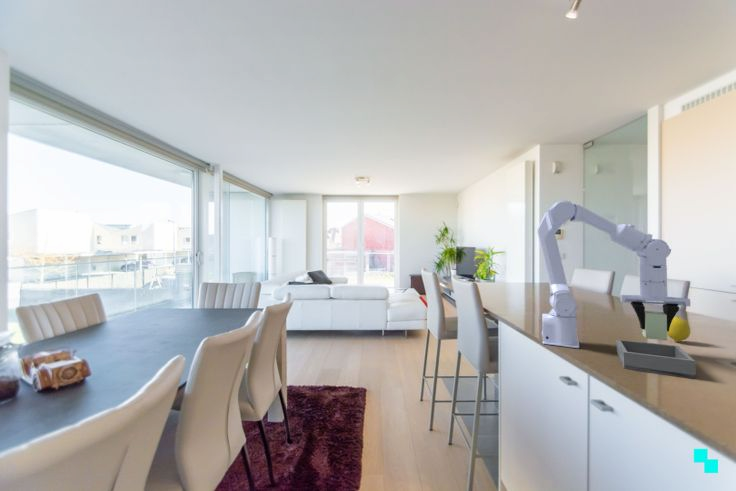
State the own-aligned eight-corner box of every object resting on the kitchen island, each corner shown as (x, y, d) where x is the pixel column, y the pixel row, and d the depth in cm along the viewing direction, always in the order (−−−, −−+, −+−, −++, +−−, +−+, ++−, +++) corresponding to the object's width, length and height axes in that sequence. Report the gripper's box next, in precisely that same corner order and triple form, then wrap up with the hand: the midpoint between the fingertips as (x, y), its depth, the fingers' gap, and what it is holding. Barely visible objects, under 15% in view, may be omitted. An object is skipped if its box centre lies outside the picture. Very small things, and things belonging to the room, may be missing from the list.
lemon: (695, 345, 94) (694, 318, 94) (673, 344, 95) (673, 318, 95) (681, 340, 100) (680, 314, 100) (660, 339, 101) (660, 314, 101)
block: (646, 338, 88) (645, 313, 88) (642, 334, 92) (642, 310, 92) (667, 340, 86) (666, 314, 86) (662, 336, 90) (662, 312, 90)
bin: (624, 368, 78) (623, 352, 78) (616, 353, 88) (616, 339, 88) (695, 378, 71) (695, 361, 71) (678, 361, 82) (678, 345, 82)
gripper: (622, 281, 90) (623, 329, 90) (693, 284, 82) (695, 336, 82) (619, 279, 96) (620, 324, 96) (685, 281, 88) (686, 330, 88)
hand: (654, 329), depth 89 cm, fingers closed on block, 4 cm apart
